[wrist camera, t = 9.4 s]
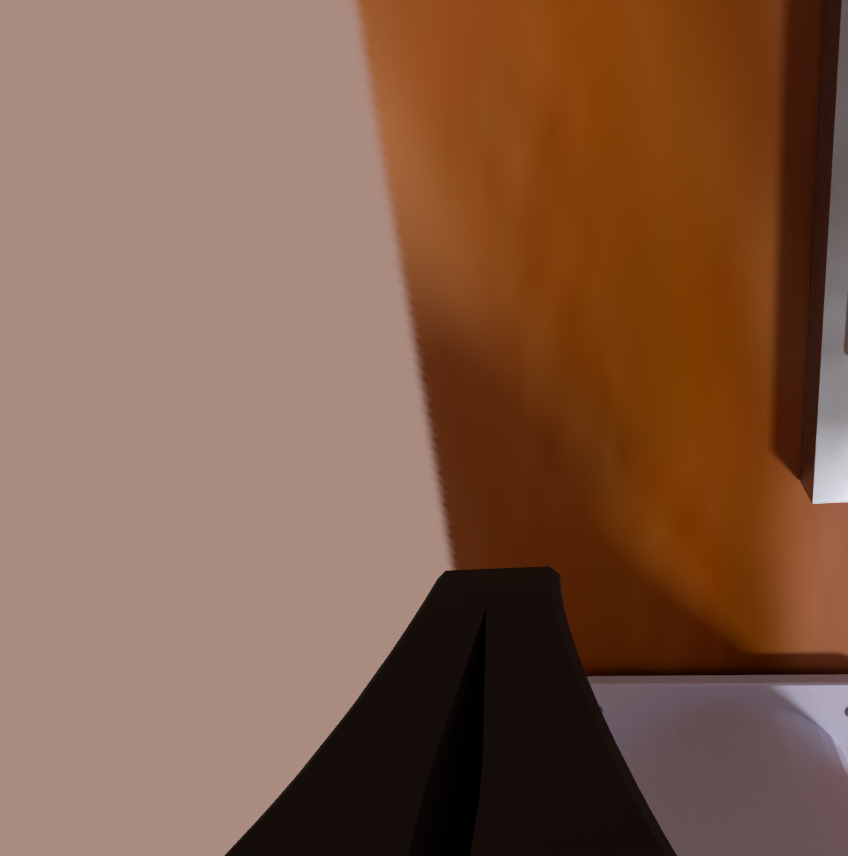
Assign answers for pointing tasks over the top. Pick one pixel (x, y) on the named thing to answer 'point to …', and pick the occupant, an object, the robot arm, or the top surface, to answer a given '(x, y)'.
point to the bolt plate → (829, 279)
